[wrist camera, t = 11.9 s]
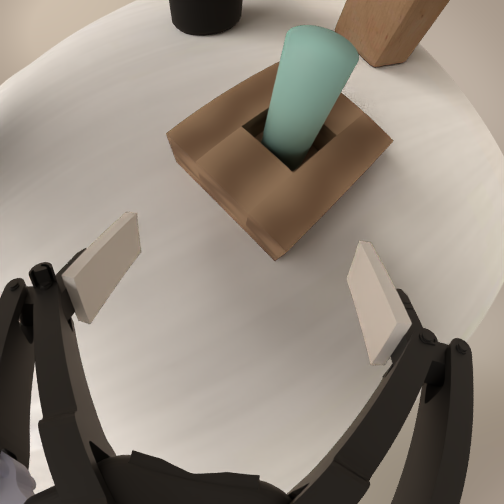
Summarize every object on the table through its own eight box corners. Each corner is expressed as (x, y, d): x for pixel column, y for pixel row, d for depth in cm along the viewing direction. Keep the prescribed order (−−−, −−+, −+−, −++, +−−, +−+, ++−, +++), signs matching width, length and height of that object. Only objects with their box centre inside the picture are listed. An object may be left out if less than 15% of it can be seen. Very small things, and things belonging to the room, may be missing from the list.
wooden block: (372, 70, 31) (429, -22, 11) (330, 32, 32) (367, -58, 12) (405, 64, 32) (459, -9, 13) (368, 29, 33) (406, -45, 14)
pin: (250, 150, 25) (269, 36, 11) (280, 127, 26) (315, 19, 12) (283, 180, 25) (332, 77, 11) (312, 154, 26) (371, 56, 12)
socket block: (176, 161, 26) (165, 133, 21) (282, 86, 29) (290, 55, 23) (274, 260, 25) (286, 252, 20) (370, 163, 28) (393, 140, 22)
